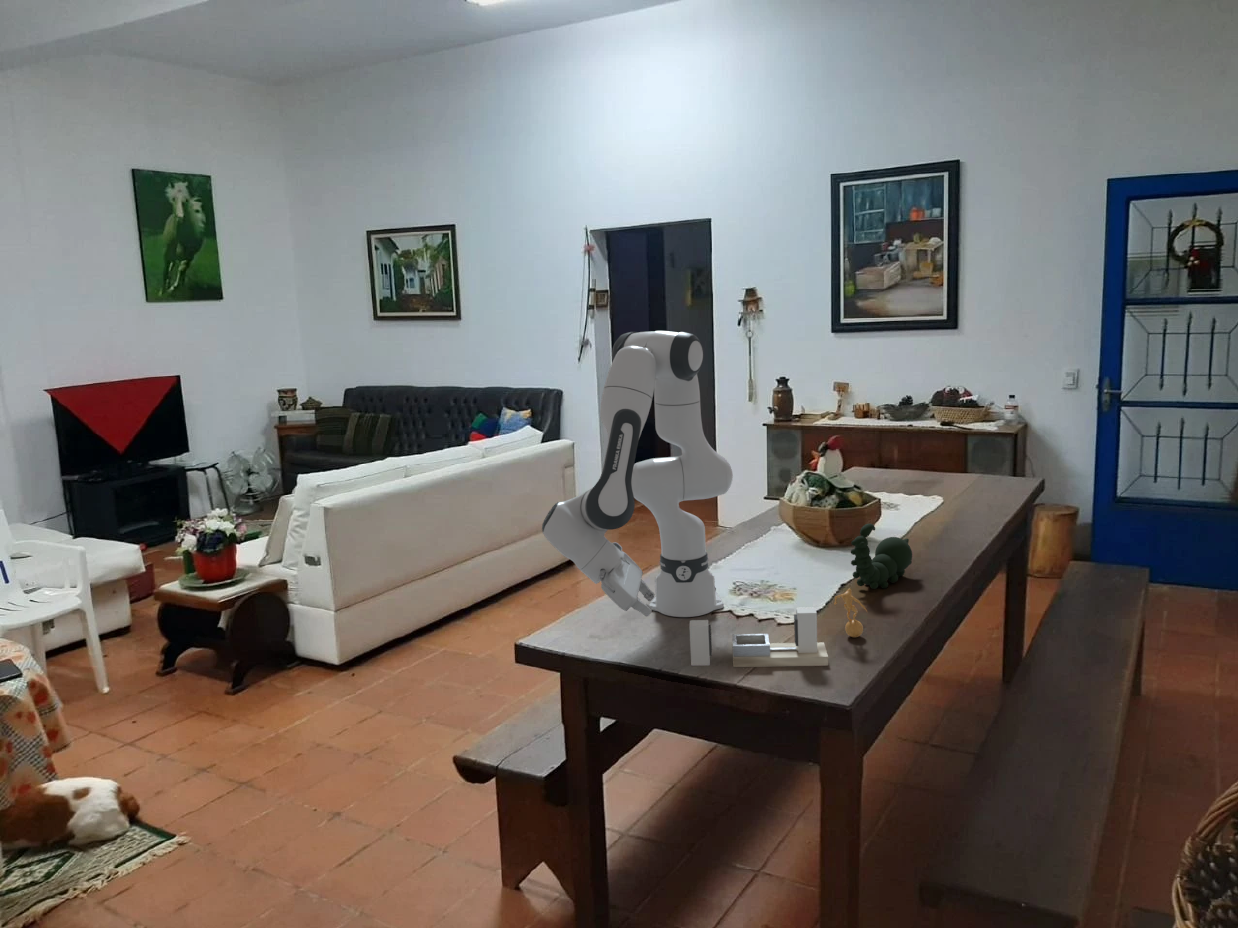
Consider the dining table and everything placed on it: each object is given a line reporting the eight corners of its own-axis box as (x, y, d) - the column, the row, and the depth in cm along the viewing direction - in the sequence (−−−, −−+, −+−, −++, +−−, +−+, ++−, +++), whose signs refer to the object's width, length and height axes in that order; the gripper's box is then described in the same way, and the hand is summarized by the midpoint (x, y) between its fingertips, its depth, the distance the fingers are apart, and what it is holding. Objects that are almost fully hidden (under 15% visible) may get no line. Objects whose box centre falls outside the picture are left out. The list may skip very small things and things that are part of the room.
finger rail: (732, 652, 214) (730, 605, 212) (823, 650, 212) (823, 603, 210) (733, 666, 206) (731, 618, 204) (828, 665, 204) (827, 616, 202)
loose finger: (691, 659, 212) (689, 620, 210) (712, 658, 211) (710, 619, 210) (691, 665, 208) (689, 626, 207) (712, 665, 208) (710, 625, 206)
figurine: (875, 638, 217) (874, 587, 215) (861, 646, 213) (860, 594, 211) (842, 630, 223) (842, 580, 221) (828, 638, 219) (827, 587, 216)
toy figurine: (876, 604, 243) (925, 570, 260) (872, 533, 238) (922, 504, 255) (844, 596, 250) (893, 564, 266) (839, 528, 245) (890, 499, 261)
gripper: (608, 567, 197) (658, 612, 198) (617, 540, 217) (663, 580, 217) (587, 589, 198) (637, 633, 199) (599, 559, 218) (644, 599, 219)
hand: (651, 605), depth 208 cm, fingers open, 8 cm apart
